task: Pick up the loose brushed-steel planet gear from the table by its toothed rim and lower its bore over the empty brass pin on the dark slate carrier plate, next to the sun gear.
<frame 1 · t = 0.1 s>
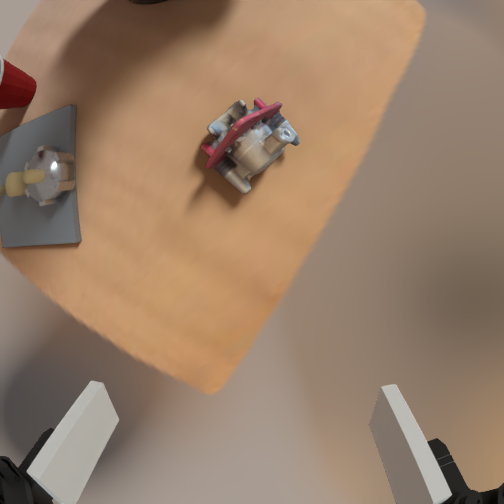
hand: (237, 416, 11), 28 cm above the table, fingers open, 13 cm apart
seated gear: (56, 174, 35), resting on carrier
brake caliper: (248, 143, 35), on the table
plastic cup: (27, 94, 32), on the table
carrier: (32, 182, 36), on the table
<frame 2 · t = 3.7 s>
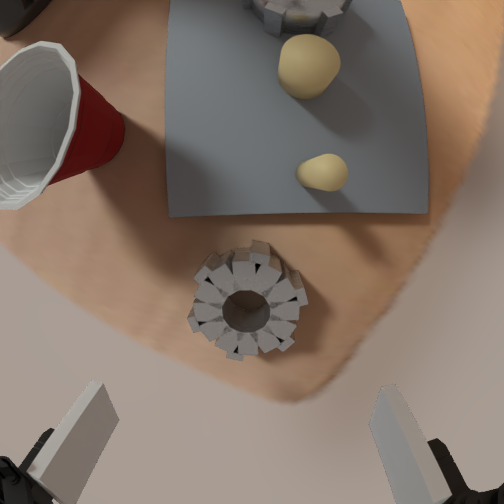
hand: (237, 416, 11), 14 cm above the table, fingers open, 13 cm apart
planet gear: (248, 291, 25), on the table
seated gear: (294, 3, 17), resting on carrier
plastic cup: (102, 136, 22), on the table
carrier: (300, 82, 20), on the table
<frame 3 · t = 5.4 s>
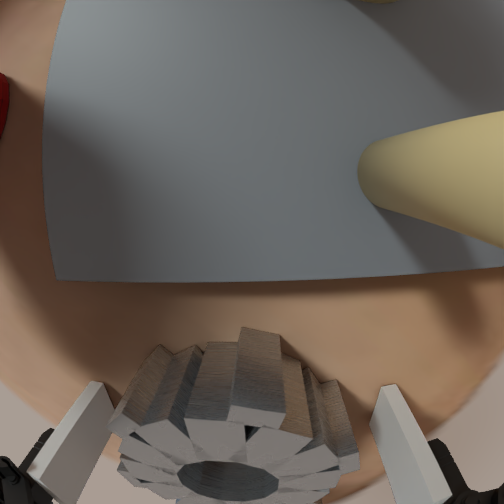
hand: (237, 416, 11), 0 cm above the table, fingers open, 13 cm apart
planet gear: (236, 412, 11), on the table
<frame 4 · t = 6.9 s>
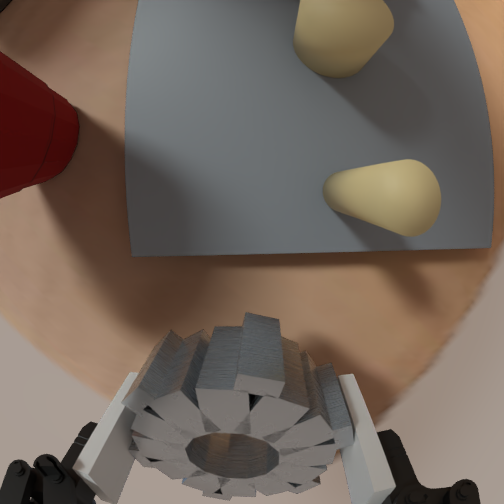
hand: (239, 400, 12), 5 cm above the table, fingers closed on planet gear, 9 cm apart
planet gear: (239, 395, 12), point 4 cm above the table, touching gripper
plastic cup: (54, 140, 15), on the table
carrier: (325, 57, 13), on the table
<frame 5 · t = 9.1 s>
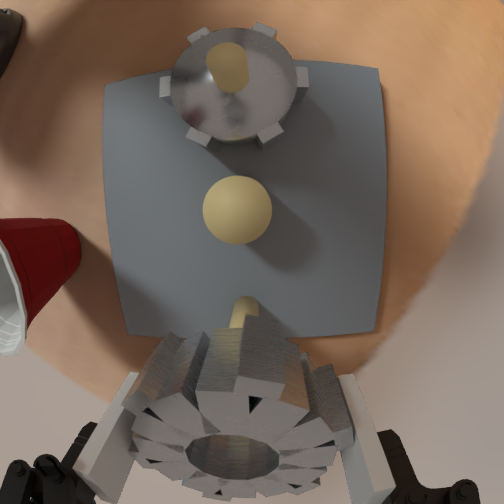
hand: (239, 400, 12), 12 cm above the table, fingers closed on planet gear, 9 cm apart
planet gear: (239, 396, 12), point 11 cm above the table, touching gripper
seated gear: (237, 96, 18), resting on carrier
plastic cup: (63, 247, 23), on the table
carrier: (242, 202, 21), on the table
when the fingers open (3 cm above the table, at t = 11.6 s): planet gear stays where it is, resting on carrier.
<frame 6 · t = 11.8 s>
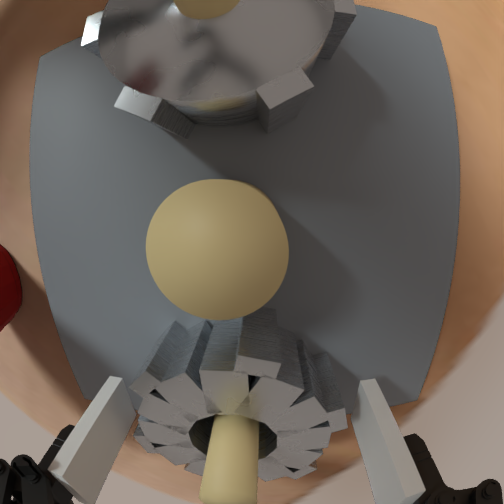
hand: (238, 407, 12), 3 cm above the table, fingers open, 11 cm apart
planet gear: (239, 383, 13), point 1 cm above the table, touching carrier
seated gear: (224, 47, 9), resting on carrier
plastic cup: (4, 278, 15), on the table
carrier: (234, 223, 13), on the table
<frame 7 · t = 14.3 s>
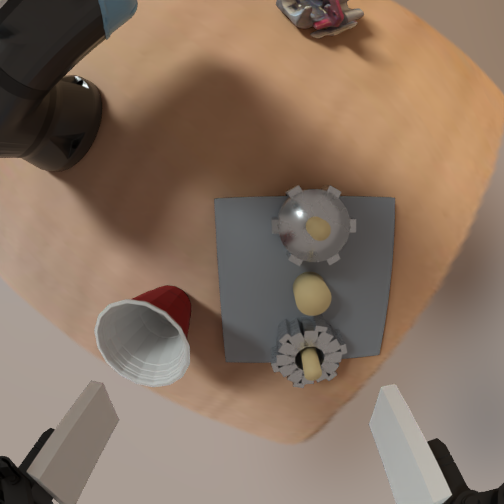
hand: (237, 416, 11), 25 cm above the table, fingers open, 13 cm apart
planet gear: (306, 342, 36), point 1 cm above the table, touching carrier
seated gear: (309, 221, 32), resting on carrier
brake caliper: (313, 11, 27), on the table
plastic cup: (173, 304, 37), on the table
carrier: (307, 283, 35), on the table
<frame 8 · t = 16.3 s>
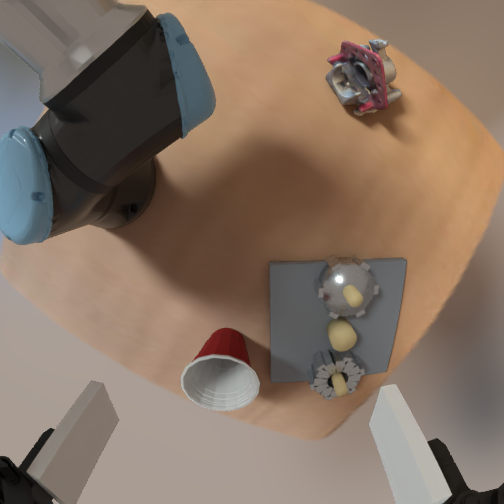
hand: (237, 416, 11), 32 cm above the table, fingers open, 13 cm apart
planet gear: (333, 366, 45), point 1 cm above the table, touching carrier
seated gear: (342, 281, 41), resting on carrier
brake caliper: (356, 83, 35), on the table
plastic cup: (229, 341, 46), on the table
carrier: (336, 323, 44), on the table
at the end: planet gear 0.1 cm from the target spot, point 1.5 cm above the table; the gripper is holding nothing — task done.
